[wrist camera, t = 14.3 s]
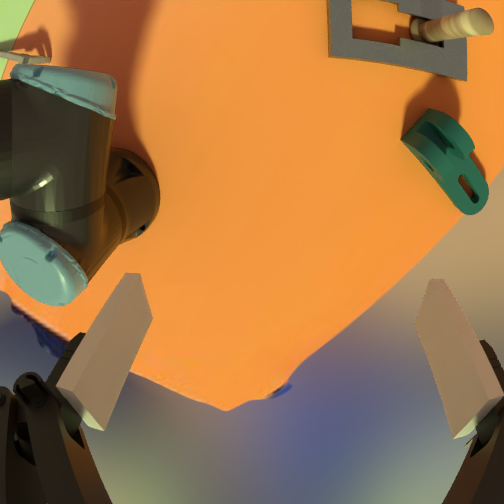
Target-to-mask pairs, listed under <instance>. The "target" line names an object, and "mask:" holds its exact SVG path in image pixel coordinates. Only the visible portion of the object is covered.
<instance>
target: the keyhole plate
mask: <svg viewBox="0 0 504 504" xmlns="http://www.w3.org/2000/svg"><path fill="white" fill-rule="evenodd" d="M380 1H385V2H390V3H395V4H397V12H401V13H405V14H409V15H413V16H417V17H421V18H425V19H428V20H434V19H437V18H440V17H444V16H447V15H451V14H454V13H458V12H462V11H464V7H463V6H461V5H458V4H455V3H452V2H450V1H447V0H380ZM327 18H328V51H329V57H330V58H341V59H351V60H360V61H368V62H375V63H381V64H388V65H394V66H399V67H405V68H410V69H415V70H419V71H424V72H428V73H432V74H436V75H440V76H444V77H448V78H452V79H455V80H459V81H467V40H466V37H463V38H456V39H449V40H442V48H441V47H438V46H434V45H430V44H426V43H423V42H418V41H414V40H410V39H405V38H401V37H400V38H399V46H398V45H393V44H387V43H381V42H375V41H369V40H362V39H354V38H352V13H351V0H327Z"/></svg>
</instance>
